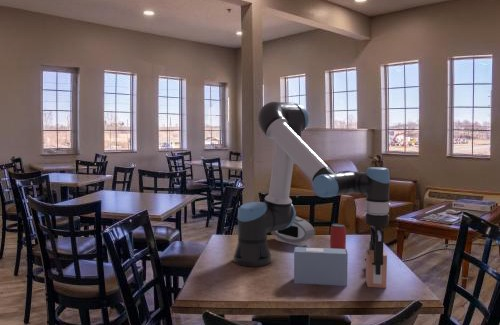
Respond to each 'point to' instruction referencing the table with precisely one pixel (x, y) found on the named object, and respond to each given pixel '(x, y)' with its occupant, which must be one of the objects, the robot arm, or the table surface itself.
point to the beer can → (338, 236)
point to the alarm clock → (296, 233)
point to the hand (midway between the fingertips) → (375, 279)
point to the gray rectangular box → (320, 266)
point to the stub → (370, 269)
